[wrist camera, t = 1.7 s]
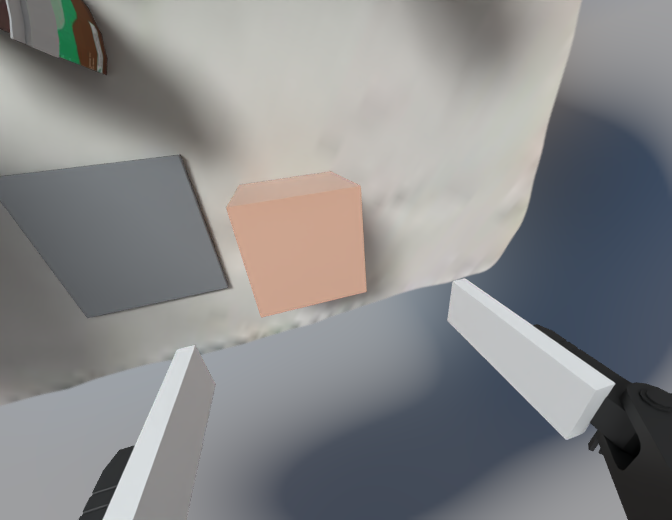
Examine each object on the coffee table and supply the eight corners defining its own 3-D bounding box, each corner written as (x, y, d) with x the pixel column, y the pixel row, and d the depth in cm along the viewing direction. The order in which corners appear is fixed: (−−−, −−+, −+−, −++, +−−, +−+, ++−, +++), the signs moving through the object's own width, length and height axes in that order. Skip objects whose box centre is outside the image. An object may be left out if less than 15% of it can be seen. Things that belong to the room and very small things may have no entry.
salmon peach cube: (262, 266, 30) (261, 317, 22) (239, 184, 26) (226, 207, 17) (339, 250, 32) (366, 291, 24) (330, 171, 28) (360, 185, 19)
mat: (90, 314, 28) (87, 318, 27) (-10, 177, 21) (-17, 178, 20) (228, 285, 30) (227, 287, 30) (180, 154, 23) (178, 155, 23)
